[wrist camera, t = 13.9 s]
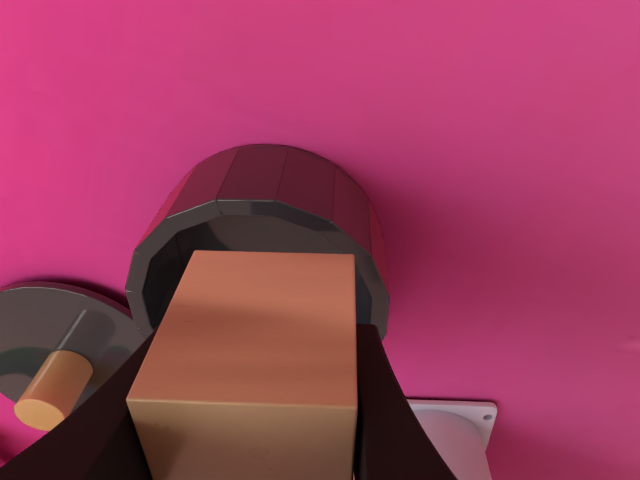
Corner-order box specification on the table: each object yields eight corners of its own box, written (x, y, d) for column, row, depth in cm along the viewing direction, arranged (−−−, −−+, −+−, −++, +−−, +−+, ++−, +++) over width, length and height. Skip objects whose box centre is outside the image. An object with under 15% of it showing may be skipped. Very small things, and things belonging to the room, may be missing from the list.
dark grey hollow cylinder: (374, 326, 27) (379, 402, 23) (184, 321, 27) (154, 394, 23) (388, 145, 21) (399, 202, 17) (145, 142, 21) (96, 197, 17)
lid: (190, 416, 32) (169, 482, 28) (18, 410, 32) (-25, 475, 29) (156, 276, 25) (123, 338, 22) (-58, 271, 26) (-127, 331, 22)
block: (349, 365, 16) (350, 528, 11) (213, 361, 16) (165, 520, 12) (354, 253, 13) (357, 408, 9) (193, 249, 13) (124, 399, 9)
